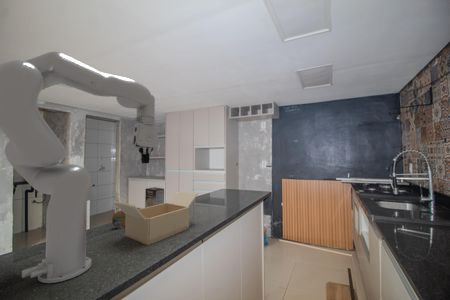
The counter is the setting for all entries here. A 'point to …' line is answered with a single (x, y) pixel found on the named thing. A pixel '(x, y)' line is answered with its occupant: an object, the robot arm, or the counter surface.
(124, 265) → the counter surface
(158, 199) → the coffee box
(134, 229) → the carton
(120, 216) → the tin
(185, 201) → the far flap
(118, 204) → the near flap
